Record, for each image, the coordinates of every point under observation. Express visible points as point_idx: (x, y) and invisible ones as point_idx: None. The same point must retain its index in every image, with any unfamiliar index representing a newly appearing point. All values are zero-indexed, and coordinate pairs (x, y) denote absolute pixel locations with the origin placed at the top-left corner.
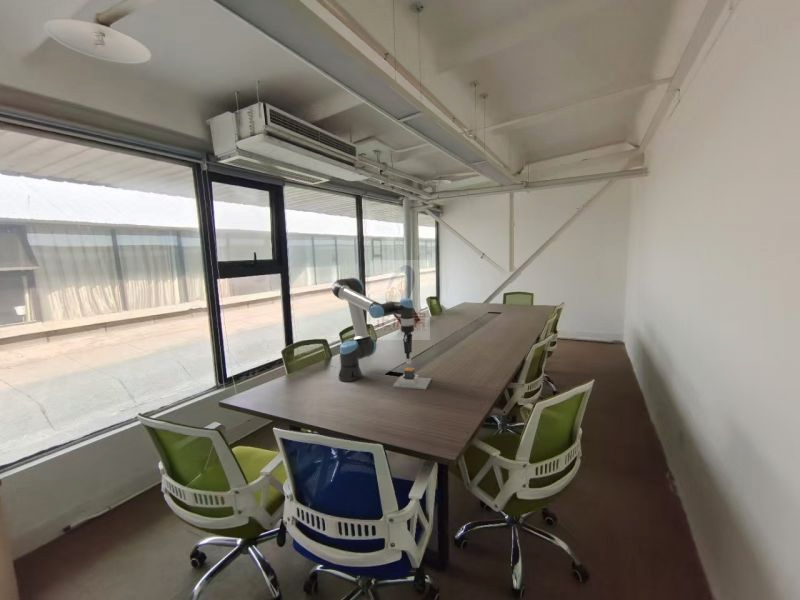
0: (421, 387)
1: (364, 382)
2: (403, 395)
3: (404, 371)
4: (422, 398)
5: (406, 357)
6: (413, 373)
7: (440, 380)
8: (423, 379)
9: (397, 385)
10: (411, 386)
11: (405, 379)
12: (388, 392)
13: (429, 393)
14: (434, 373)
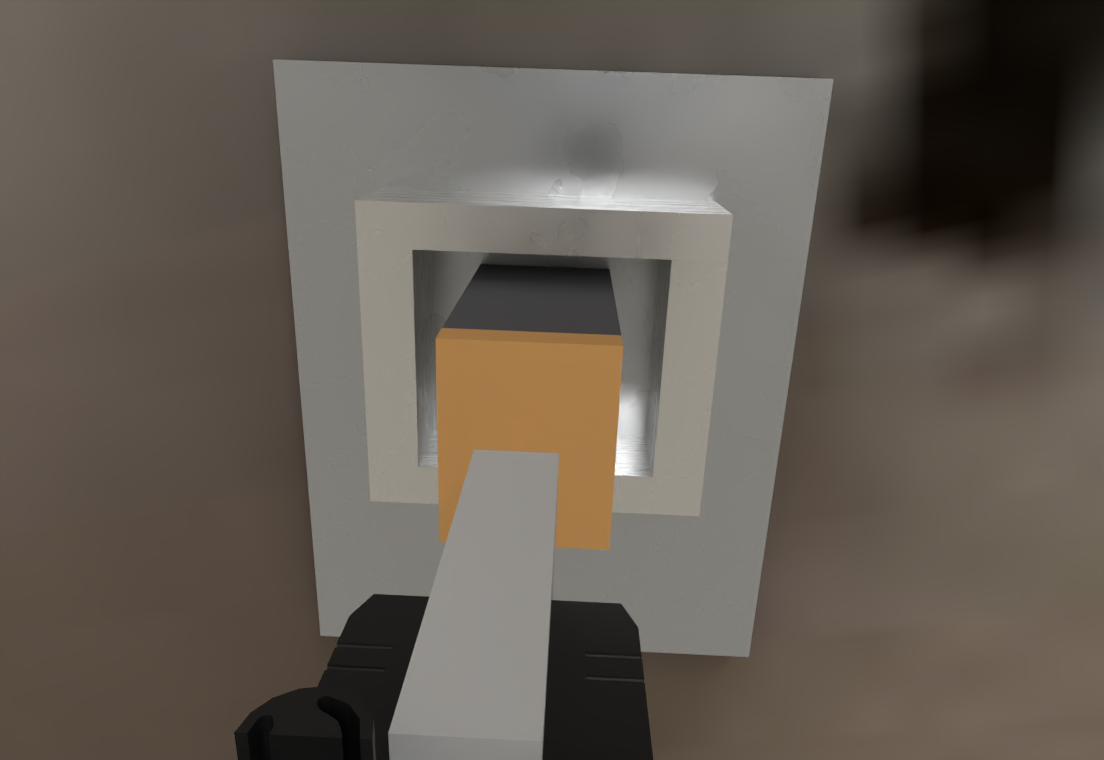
0: (316, 576)
1: None
2: (15, 346)
3: (445, 326)
4: (27, 614)
5: (434, 595)
6: None
7: (737, 750)
8: (674, 554)
9: (291, 161)
10: (312, 424)
11: (361, 330)
12: (28, 48)
13: (219, 672)
14: (1067, 645)
